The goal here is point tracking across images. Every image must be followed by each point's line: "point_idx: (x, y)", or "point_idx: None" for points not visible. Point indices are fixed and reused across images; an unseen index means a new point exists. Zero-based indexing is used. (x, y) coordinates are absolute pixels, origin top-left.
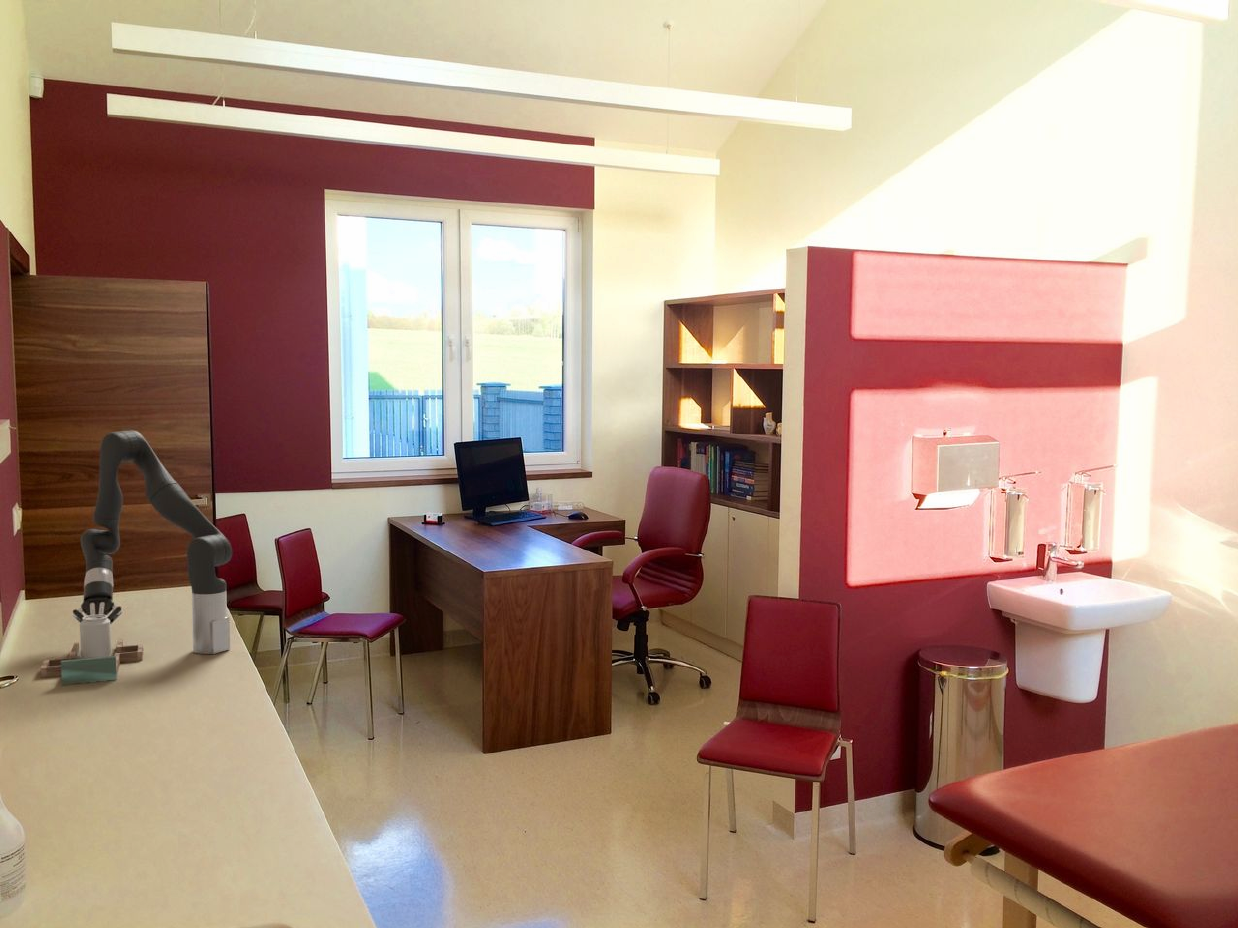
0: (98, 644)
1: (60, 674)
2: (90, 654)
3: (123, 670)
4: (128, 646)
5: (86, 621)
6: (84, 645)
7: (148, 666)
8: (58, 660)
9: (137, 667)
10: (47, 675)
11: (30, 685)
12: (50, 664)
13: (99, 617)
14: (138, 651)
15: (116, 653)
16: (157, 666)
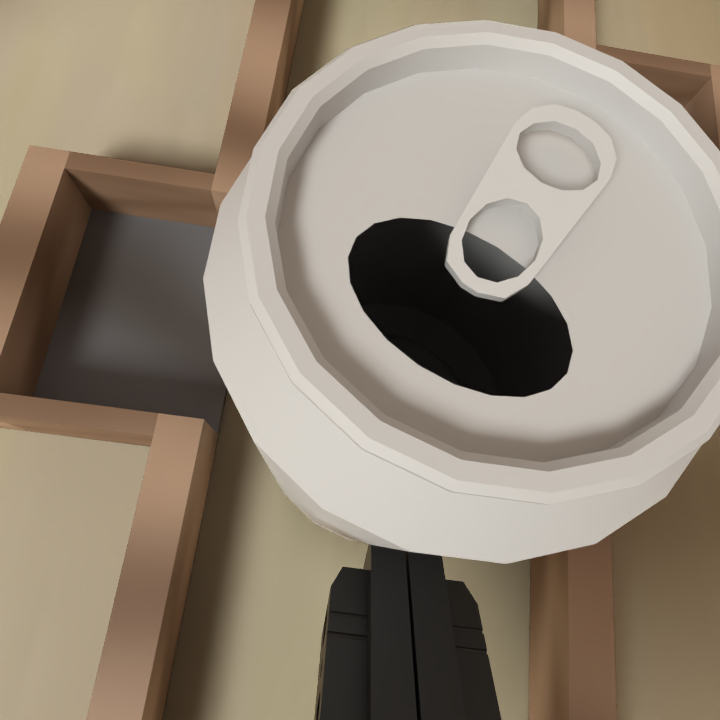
0: (384, 243)
1: None
2: (438, 301)
3: (236, 26)
4: (87, 406)
5: (636, 136)
6: (513, 296)
7: (72, 32)
8: None
9: (142, 45)
10: None
11: (716, 6)
12: None
13: (401, 489)
14: (57, 161)
15: None
16: (21, 5)
